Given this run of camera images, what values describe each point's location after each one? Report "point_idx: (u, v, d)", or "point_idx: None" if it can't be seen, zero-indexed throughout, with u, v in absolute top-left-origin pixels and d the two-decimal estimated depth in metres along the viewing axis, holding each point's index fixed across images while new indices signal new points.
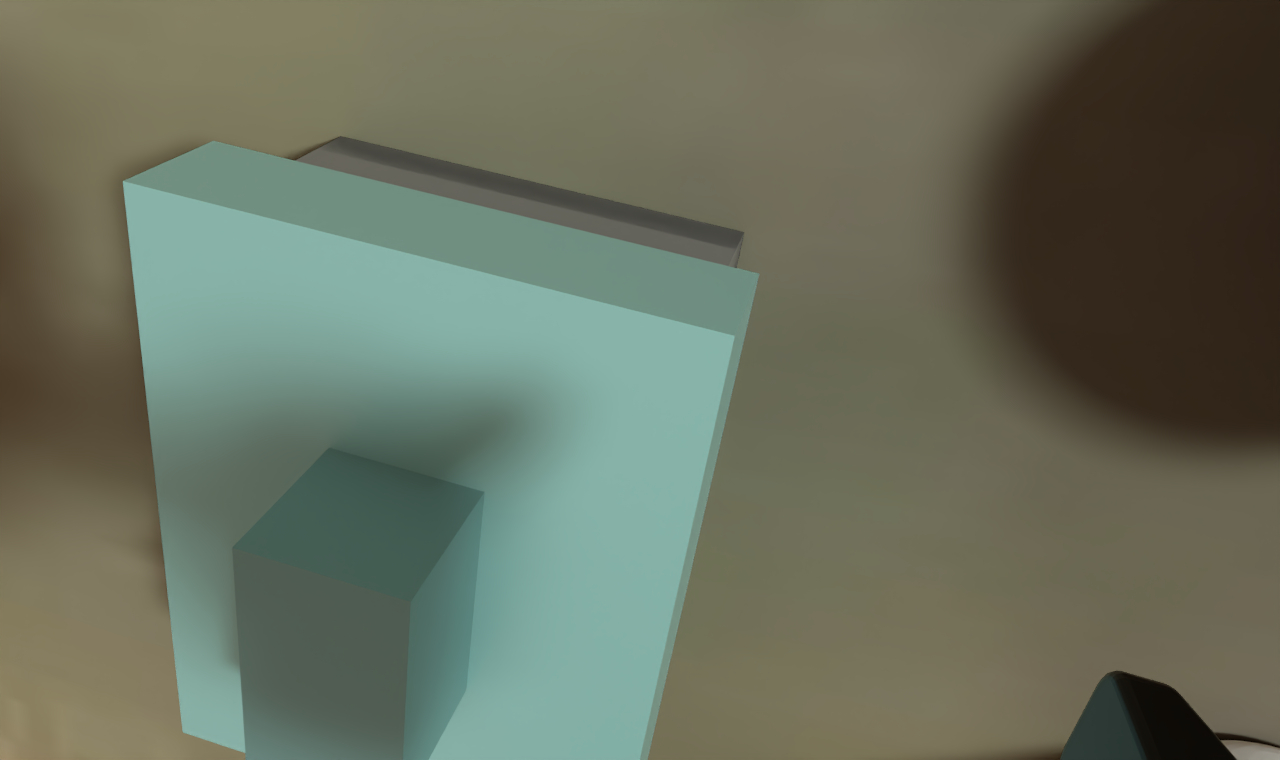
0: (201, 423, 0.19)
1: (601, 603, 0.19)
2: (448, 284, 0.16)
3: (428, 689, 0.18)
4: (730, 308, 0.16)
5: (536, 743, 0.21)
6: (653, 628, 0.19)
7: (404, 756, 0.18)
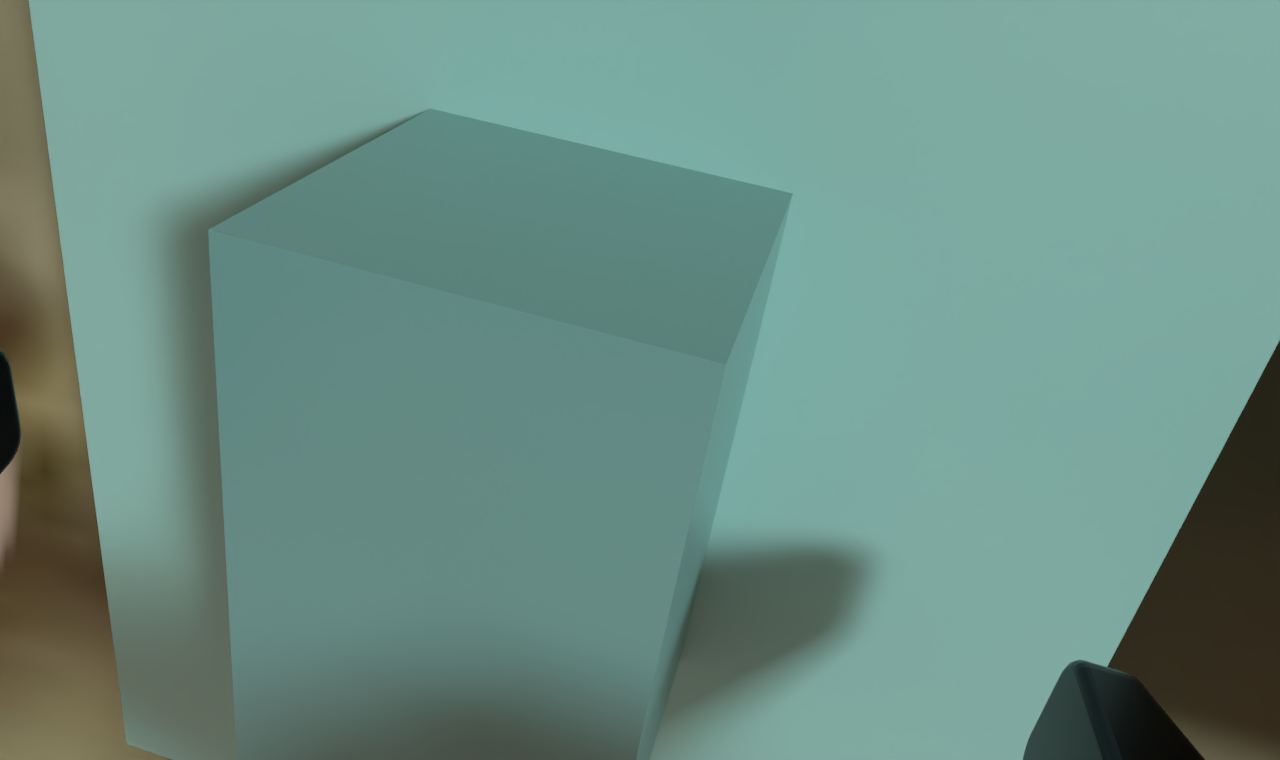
0: (149, 74, 0.09)
1: (1032, 460, 0.08)
2: None
3: (672, 645, 0.08)
4: None
5: None
6: (1147, 516, 0.08)
7: None
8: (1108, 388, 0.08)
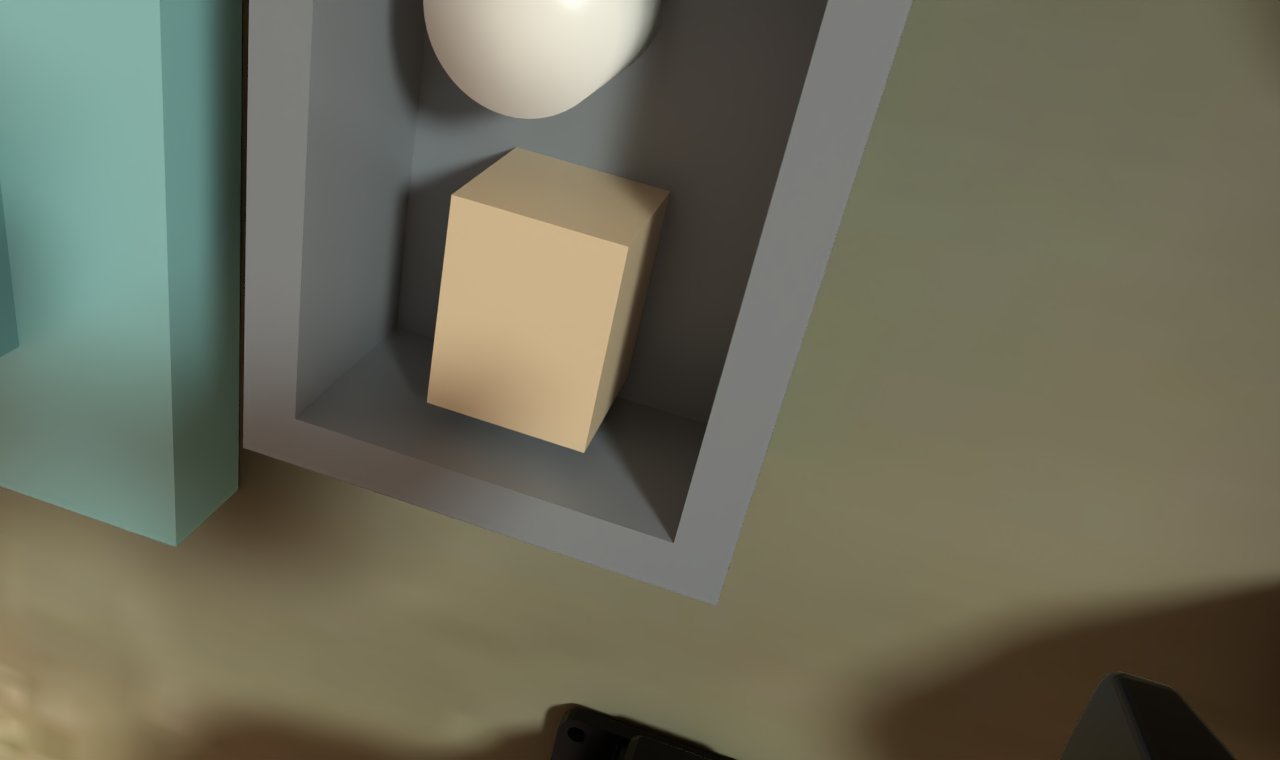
0: None
1: (109, 240, 0.21)
2: None
3: None
4: None
5: (86, 402, 0.23)
6: (155, 264, 0.21)
7: None
8: (121, 207, 0.20)
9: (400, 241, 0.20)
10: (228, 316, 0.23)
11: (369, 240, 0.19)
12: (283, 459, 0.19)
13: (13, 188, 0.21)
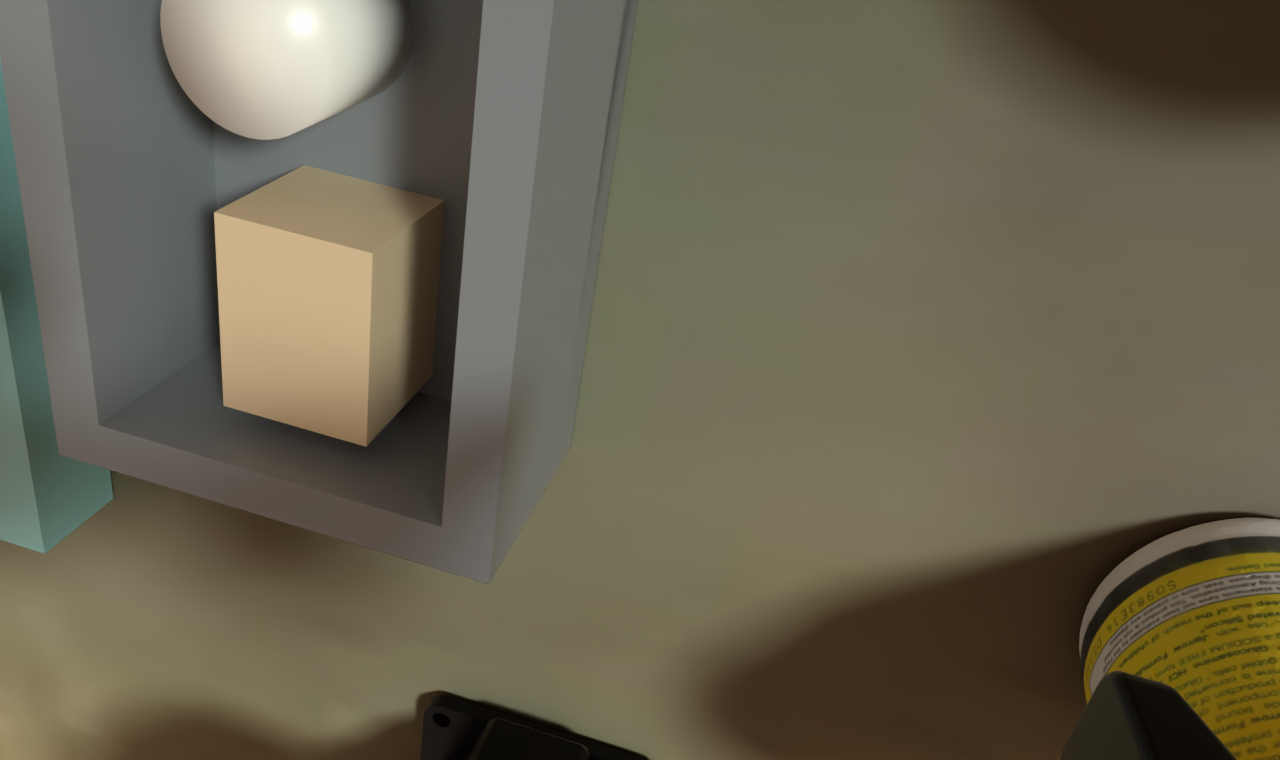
0: None
1: None
2: None
3: None
4: None
5: None
6: None
7: None
8: None
9: (213, 257, 0.22)
10: None
11: (170, 257, 0.20)
12: (95, 464, 0.20)
13: None
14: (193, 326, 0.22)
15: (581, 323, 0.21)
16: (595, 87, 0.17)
